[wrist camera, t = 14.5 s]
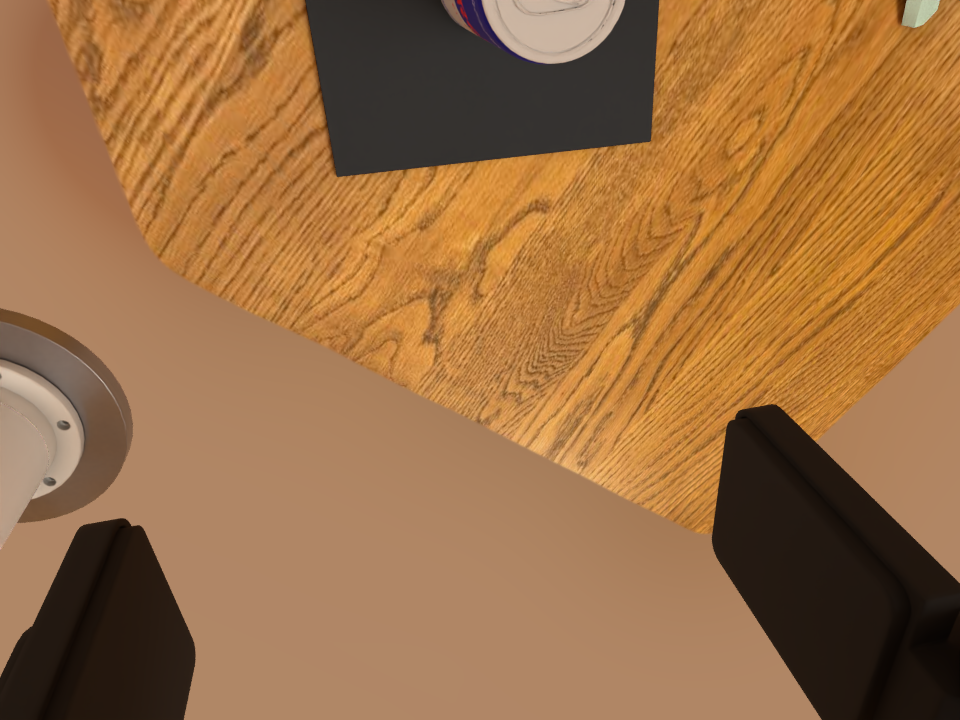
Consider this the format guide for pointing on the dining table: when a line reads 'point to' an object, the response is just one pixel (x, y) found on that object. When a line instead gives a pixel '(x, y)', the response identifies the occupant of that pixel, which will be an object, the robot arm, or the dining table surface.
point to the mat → (470, 88)
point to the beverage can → (538, 25)
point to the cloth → (918, 12)
